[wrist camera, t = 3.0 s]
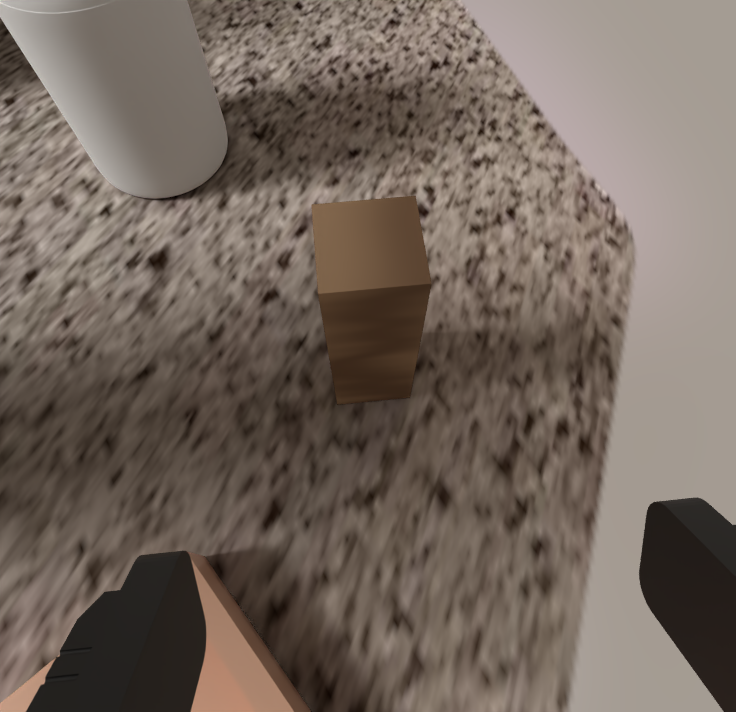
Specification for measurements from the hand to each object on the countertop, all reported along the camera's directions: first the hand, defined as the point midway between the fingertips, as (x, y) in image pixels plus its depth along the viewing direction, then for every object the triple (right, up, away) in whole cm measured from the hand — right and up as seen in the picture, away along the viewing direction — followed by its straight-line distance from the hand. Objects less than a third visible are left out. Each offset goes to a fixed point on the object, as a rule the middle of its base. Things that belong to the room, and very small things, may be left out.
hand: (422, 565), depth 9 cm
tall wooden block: (-1, +3, +17) cm, 17 cm away
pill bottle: (-13, +16, +23) cm, 31 cm away
